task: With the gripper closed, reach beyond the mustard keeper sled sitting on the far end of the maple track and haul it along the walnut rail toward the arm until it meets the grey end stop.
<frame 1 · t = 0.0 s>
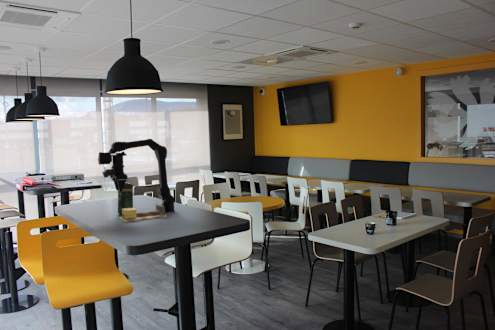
hand: (119, 191, 226), 15 cm above the table, tool pointing down, fingers open, 9 cm apart
track: (143, 217, 221), on the table
keeper: (129, 213, 218), point 4 cm above the table, slide at 0.0 cm
coffee jar: (125, 214, 235), on the table, touching gripper
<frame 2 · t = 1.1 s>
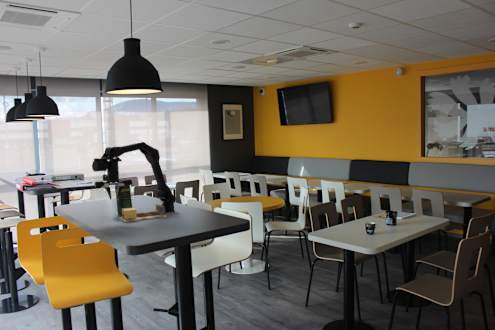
hand: (114, 199, 213), 12 cm above the table, tool pointing down, fingers open, 3 cm apart
coffee jar: (125, 214, 235), on the table
everything else where it was.
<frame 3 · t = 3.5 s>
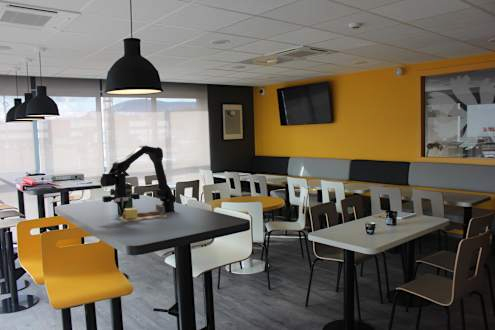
hand: (122, 213, 216), 4 cm above the table, tool pointing down, fingers closed
keeper: (130, 213, 218), point 4 cm above the table, slide at 0.5 cm, touching gripper
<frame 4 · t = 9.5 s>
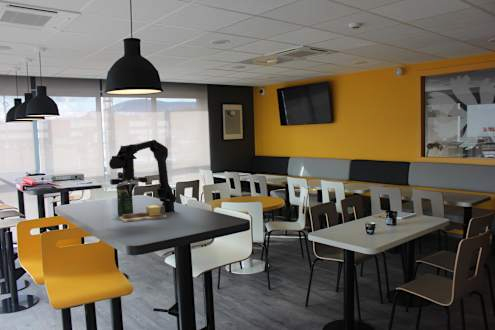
hand: (129, 196, 214), 13 cm above the table, tool pointing down, fingers closed
keeper: (153, 210, 224), point 4 cm above the table, slide at 13.5 cm, touching track
everything else where it was.
at the end: keeper slide at 13.5 cm; keeper 0.0 cm from the target spot, resting on track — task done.
